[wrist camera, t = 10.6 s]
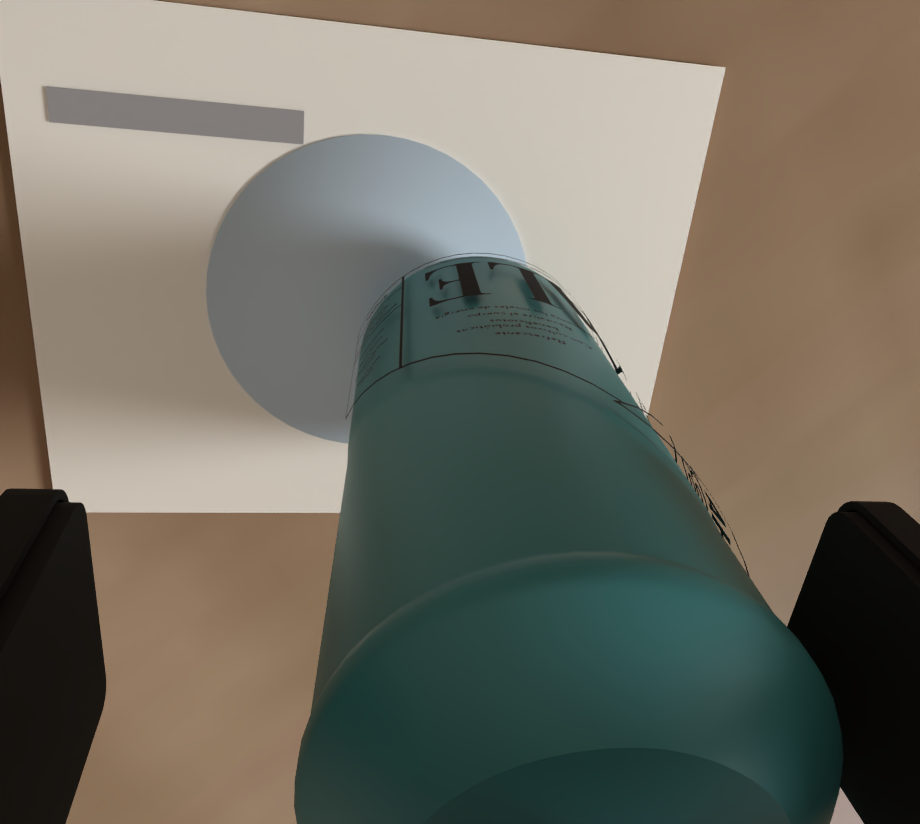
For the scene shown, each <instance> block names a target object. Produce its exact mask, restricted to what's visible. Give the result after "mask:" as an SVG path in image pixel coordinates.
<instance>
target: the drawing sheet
mask: <svg viewBox="0 0 920 824" xmlns="http://www.w3.org/2000/svg"><path fill="white" fill-rule="evenodd" d="M724 73H725V67H716V66H708V65H699V64H691V63H682V62H674V61H665V60H657V59H648V58H640V57H631V56H623V55H614V54H606V53H597V52H589V51H580V50H572V49H563V48H554V47H546V46H537V45H529V44H520V43H512V42H503V41H495V40H486V39H478V38H469V37H461V36H452V35H444V34H435V33H427V32H418V31H410V30H401V29H393V28H384V27H376V26H367V25H359V24H350V23H342V22H333V21H325V20H316V19H308V18H299V17H291V16H282V15H274V14H265V13H257V12H248V11H240V10H231V9H223V8H214V7H206V6H197V5H189V4H180V3H172V2H163V1H155V0H0V79H1V87H2V95H3V103H4V111H5V118H6V126H7V134H8V142H9V150H10V158H11V165H12V173H13V181H14V189H15V197H16V204H17V212H18V220H19V228H20V236H21V243H22V251H23V259H24V267H25V275H26V282H27V290H28V298H29V306H30V314H31V322H32V329H33V337H34V345H35V353H36V361H37V368H38V376H39V384H40V392H41V400H42V407H43V415H44V423H45V431H46V439H47V446H48V454H49V462H50V470H51V478H52V486H53V489H62V490H64V491H65V492H66V494H67V496H68V500H69V502H81V503H82V504H83V505H84V507H85V510H86V512H195V513H340V511H341V504H342V497H343V491H344V484H345V477H346V470H347V460H348V443H349V434H350V427H351V419H352V411H353V407H352V406H353V403H354V395H355V387H356V381H355V380H356V379H357V371H358V363H359V356H360V354H359V353H360V351H359V350H361V345H362V341H363V338H364V337H363V336H364V334H365V332H366V329H367V327H368V324H369V323H368V322H370V319H371V318H372V316H373V314H374V313H375V312H376V310H377V309H378V307H379V306H380V304H381V303H382V302H383V301H382V300H381V299H382V298H383V300H384V296H385V295H387V296H388V295H389V293H390V292H391V291H392V290H394V289H395V288H396V287H397V286H398V285H399V284H400V283H401V282H402V278H401V277H403V276H404V275H405V276H404V280H405V279H407V278H408V277H410V276H411V275H412V274H414V273H416V272H418V271H419V270H421V269H423V268H425V267H427V266H430V265H433V264H435V263H438V262H441V261H445V260H449V259H453V258H460V257H470V256H482V257H484V256H485V257H486V256H487V257H494V258H499V259H500V258H501V259H502V258H503V259H504V260H505V259H506V260H507V259H508V261H511V260H512V261H513V262H514V261H515V263H516V262H517V263H518V262H519V263H521V264H522V266H525V265H526V266H525V267H527V266H528V267H530V269H531V267H532V269H531V270H533V271H535V272H536V273H538V274H540V275H542V276H543V277H544V278H546V279H548V280H549V281H551V282H553V283H554V284H556V285H557V286H558V287H560V288H561V289H562V291H563V292H564V291H565V292H564V293H565V295H566V296H567V297H568V298H569V299H570V300H571V301H572V302H573V303H574V304H575V307H576V308H577V309H578V310H579V311H580V310H581V311H582V312H583V313H585V315H586V316H587V318H588V319H589V320H590V322H591V324H592V325H593V327H594V328H595V330H596V332H597V333H598V335H599V336H600V338H601V339H602V340H603V343H604V344H605V346H606V348H607V350H608V352H609V354H610V355H611V357H612V359H613V361H614V363H615V365H616V367H617V368H618V367H619V364H620V366H621V368H622V370H623V372H624V373H623V372H621V373H620V374H618V376H619V377H620V379H621V380H622V382H623V383H624V385H625V386H626V388H627V389H628V391H629V392H631V395H632V397H633V398H634V400H635V401H636V403H637V404H638V406H639V407H640V406H642V408H643V410H644V411H646V412H648V411H649V406H650V402H651V397H652V393H653V389H654V384H655V380H656V375H657V371H658V366H659V362H660V357H661V353H662V349H663V344H664V340H665V335H666V331H667V326H668V322H669V317H670V313H671V309H672V304H673V300H674V295H675V291H676V286H677V282H678V277H679V273H680V268H681V264H682V260H683V255H684V251H685V246H686V242H687V237H688V233H689V228H690V224H691V220H692V215H693V211H694V206H695V202H696V197H697V193H698V188H699V184H700V179H701V175H702V171H703V166H704V162H705V157H706V153H707V148H708V144H709V139H710V135H711V131H712V126H713V122H714V117H715V113H716V108H717V104H718V99H719V95H720V91H721V86H722V82H723V77H724ZM465 253H472V254H465ZM477 253H491V254H477ZM456 254H462V255H456ZM494 254H498V255H494ZM452 255H454V256H452ZM500 255H504V256H500ZM447 256H450V257H447ZM506 256H508V257H506ZM443 257H446V258H443ZM510 257H512V258H510ZM439 258H441V259H439ZM513 258H515V259H513ZM436 259H438V260H436ZM517 259H519V260H517ZM434 260H436V261H434ZM521 260H522V261H521ZM431 261H433V262H431ZM512 261H511V262H512ZM523 261H524V262H523ZM428 262H430V263H428ZM525 262H527V263H525ZM425 263H427V264H425ZM519 263H518V264H519ZM528 263H529V264H528ZM423 264H425V265H423ZM521 264H520V265H521ZM523 264H525V265H523ZM530 264H531V265H530ZM421 265H423V266H421ZM533 265H534V266H533ZM419 266H421V267H419ZM535 266H536V267H535ZM418 267H419V268H418ZM528 267H527V268H528ZM537 267H538V268H537ZM416 268H417V269H416ZM533 268H534V269H533ZM414 269H415V270H414ZM535 269H536V270H538V271H540V272H542V273H540V272H538V271H536V270H535ZM540 269H541V270H540ZM412 270H413V271H412ZM542 270H543V271H542ZM410 271H411V272H410ZM409 272H410V273H409ZM545 272H546V273H545ZM407 273H408V274H407ZM543 273H544V274H543ZM547 273H548V274H547ZM406 274H407V275H406ZM546 276H549V277H551V276H552V277H551V278H548V277H546ZM400 278H401V279H400ZM399 279H400V280H399ZM397 280H398V281H397ZM553 280H554V281H553ZM556 280H557V281H556ZM396 281H397V282H396ZM395 282H396V283H395ZM556 282H557V283H556ZM394 283H395V284H394ZM560 283H561V284H560ZM393 284H394V285H393ZM558 284H559V285H558ZM561 286H562V287H561ZM389 287H390V288H389ZM388 288H389V289H388ZM563 288H564V289H565V290H564V289H563ZM387 289H388V290H387ZM386 290H387V291H386ZM385 291H386V292H385ZM384 292H385V293H384ZM383 293H384V294H383ZM568 293H569V294H570V295H569V294H568ZM387 296H386V297H387ZM572 296H573V297H572ZM380 297H381V298H380ZM386 297H385V298H386ZM379 298H380V299H379ZM378 299H379V300H378ZM377 300H378V301H377ZM575 300H576V301H575ZM379 302H380V304H379ZM577 303H578V304H579V305H578V304H577ZM374 304H375V305H374ZM377 304H378V307H377V306H376V305H377ZM375 306H376V307H375ZM372 307H373V308H372ZM580 307H581V308H580ZM374 308H375V310H373V309H374ZM370 310H371V311H370ZM581 311H580V312H581ZM371 312H373V313H371ZM582 312H581V314H582V315H583V316H584V318H585V319H586V320H587V318H586V316H585V315H584V314H583V313H582ZM368 313H369V314H368ZM369 315H371V316H370V318H369ZM366 316H367V317H366ZM578 316H579V315H578ZM579 317H580V316H579ZM365 318H366V319H365ZM367 318H368V321H367ZM580 319H581V320H582V318H581V317H580ZM364 320H365V321H364ZM582 322H583V323H584V325H585V326H586V328H587V329H588V331H589V332H590V334H591V335H592V337H593V336H594V340H595V341H596V343H598V346H599V347H600V349H601V348H602V349H601V350H602V351H603V353H604V355H605V356H606V358H607V359H608V361H609V362H610V364H611V365H612V367H613V368H614V366H613V364H612V362H611V360H610V358H609V356H608V354H607V352H606V350H605V348H604V347H603V345H602V343H601V341H600V339H599V337H597V334H596V333H595V332H594V331H591V329H590V328H589V327H588V326H587V324H586V323H585V322H584V321H583V320H582ZM587 322H588V320H587ZM589 324H590V323H589ZM366 325H367V326H366ZM364 328H365V329H364ZM592 332H593V333H592ZM362 333H363V334H362ZM361 335H362V336H361ZM358 336H359V338H358ZM360 337H361V338H360ZM596 338H597V339H596ZM359 339H360V340H359ZM358 341H359V342H358ZM597 341H598V342H597ZM357 342H358V344H357ZM607 346H608V347H607ZM356 348H357V351H356ZM358 352H359V353H358ZM357 354H358V355H357ZM355 355H356V356H357V357H355ZM357 358H358V359H357ZM356 360H357V361H356ZM354 361H355V362H356V363H354ZM354 364H355V365H354ZM353 367H354V370H353ZM614 370H615V368H614ZM352 374H353V376H352ZM624 374H625V375H624ZM625 377H626V378H625ZM626 379H627V380H626ZM351 380H352V382H351ZM350 386H351V389H350ZM349 393H350V395H349ZM636 393H637V394H636ZM637 395H638V396H639V397H637ZM638 398H639V399H640V402H639V399H638ZM348 399H349V401H348ZM640 403H641V405H640ZM642 404H643V405H642ZM347 405H348V408H347ZM643 406H645V407H643ZM351 407H352V409H351ZM640 408H641V407H640ZM642 408H641V409H642ZM644 408H645V409H646V410H645V409H644ZM350 409H351V411H350ZM346 411H347V414H346ZM349 411H350V412H349ZM348 413H349V414H348ZM643 413H644V415H645V416H646V415H648V414H646V413H645V412H643ZM347 415H348V416H347ZM346 416H347V418H346ZM345 418H346V420H345ZM646 418H647V416H646Z"/></svg>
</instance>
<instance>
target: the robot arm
mask: <svg viewBox="0 0 920 824" xmlns="http://www.w3.org/2000/svg"><path fill="white" fill-rule="evenodd" d="M787 628H788V629H789V630H790V631H791V632H792V633H793V634H794V635H795V636H796V637H797V638H798V639H799V641H800V642H801V643H802V645H803V646H804V648H805V649H806V651H807V652H808V654H809V655H810V656H811V658H812V659H813V661H814V662H815V664H816V665H817V667H818V669H819V670H820V672H821V673H822V675H823V677H824V679H825V681H826V683H827V686H828V688H829V690H830V692H831V694H832V697H833V699H834V703H835V707H836V711H837V715H838V719H839V723H840V728H841V733H842V744H843V767H842V775H841V784H840V787H841V789H842V790H843V792H844V793H845V795H846V796H847V798H848V799H849V801H850V803H851V804H852V806H853V807H854V809H855V810H856V812H857V813H858V815H859V816H860V818H861V820H862V821H863V823H864V824H920V524H919V523H917V522H916V521H915V520H914V519H913V518H912V517H911V516H910V515H908V514H907V513H906V512H905V511H904V510H903V509H902V508H901V507H899V506H897V505H896V504H894V503H891V502H866V501H850V502H847V503H845V504H843V505H842V506H841V507H840V508H839V510H838V512H836V513H833V514H832V515H831V516H830V517H829V518H828V520H827V522H826V524H825V527H824V530H823V532H822V535H821V538H820V540H819V543H818V546H817V548H816V551H815V554H814V556H813V559H812V562H811V564H810V567H809V570H808V572H807V575H806V578H805V580H804V583H803V586H802V588H801V591H800V594H799V596H798V599H797V602H796V605H795V607H794V610H793V613H792V615H791V618H790V621H789V623H788V626H787ZM105 694H106V674H105V665H104V657H103V649H102V640H101V632H100V624H99V615H98V607H97V599H96V590H95V582H94V574H93V565H92V557H91V549H90V540H89V532H88V524H87V515H86V510H85V507H84V505H83V504H82V503H81V502H69V500H68V496H67V494H66V492H65V491H64V490H62V489H7V490H5V491H4V492H3V493H2V494H1V496H0V824H65V823H66V820H67V817H68V814H69V811H70V808H71V805H72V802H73V799H74V796H75V793H76V790H77V787H78V784H79V781H80V778H81V774H82V771H83V768H84V765H85V762H86V759H87V756H88V753H89V750H90V747H91V744H92V741H93V738H94V735H95V732H96V729H97V726H98V723H99V720H100V717H101V714H102V710H103V706H104V701H105Z"/></svg>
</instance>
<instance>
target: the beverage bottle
mask: <svg viewBox="0 0 920 824" xmlns="http://www.w3.org/2000/svg"><path fill="white" fill-rule="evenodd" d="M465 254H472V253H465ZM477 254H491V253H477ZM456 255H462V254H456ZM494 255H498V254H494ZM452 256H454V255H452ZM500 256H504V255H500ZM447 257H450V256H447ZM506 257H508V256H506ZM443 258H446V257H443ZM510 258H512V257H510ZM439 259H441V258H439ZM513 259H515V258H513ZM436 260H438V259H436ZM436 260H434V261H436ZM517 260H519V259H517ZM511 261H512V260H511ZM511 261H508V259H507V260H506V259H505V260H504V259H503V258H502V259H501V258H500V259H499V258H494V257H487V256H486V257H485V256H484V257H482V256H470V257H460V258H453V259H449V260H445V261H441V262H438V263H435V264H433V265H430V266H427V267H425V268H423V269H421V270H419V271H418V272H416V273H414V274H412V275H411V276H410V277H408V278H407V279H405V280H404V276H405V275H404V276H403V277H401V278H402V282H401V283H400V284H399V285H398V286H397V287H396V288H395V289H394V290H392V291H391V292H390V293H389V295H388V296H387V295H385V296H384V300H383V298H382V299H381V300H382V301H383V302H382V303H381V304H380V302H379V304H380V306H379V307H378V304H377V305H376V306H377V307H378V309H377V310H376V312H375V313H374V314H373V316H372V318H371V319H370V322H368V323H369V324H368V327H367V329H366V332H365V334H364V336H363V337H364V338H363V341H362V345H361V350H359V351H360V353H359V352H358V353H359V354H360V356H359V363H358V371H357V379H356V380H355V381H356V387H355V395H354V403H353V406H352V407H353V411H352V419H351V427H350V434H349V443H348V460H347V470H346V477H345V484H344V491H343V497H342V504H341V511H340V518H339V525H338V531H337V538H336V545H335V552H334V559H333V566H332V572H331V579H330V586H329V593H328V600H327V607H326V613H325V620H324V627H323V634H322V641H321V647H320V654H319V661H318V668H317V675H316V682H315V688H314V695H313V702H312V709H311V715H310V718H309V721H308V723H307V726H306V729H305V732H304V734H303V737H302V741H301V746H300V752H299V757H298V763H297V769H296V776H295V795H294V808H295V814H296V820H297V824H830V821H831V818H832V815H833V812H834V808H835V805H836V801H837V797H838V794H839V789H840V784H841V775H842V767H843V744H842V733H841V728H840V723H839V719H838V715H837V711H836V707H835V703H834V699H833V697H832V694H831V692H830V690H829V688H828V686H827V683H826V681H825V679H824V677H823V675H822V673H821V672H820V670H819V669H818V667H817V665H816V664H815V662H814V661H813V659H812V658H811V656H810V655H809V654H808V652H807V651H806V649H805V648H804V646H803V645H802V643H801V642H800V641H799V639H798V638H797V637H796V636H795V635H794V634H793V633H792V632H791V631H790V630H789V629H788V628H787V627H786V626H785V625H784V624H783V623H782V621H781V620H780V619H779V618H778V617H777V616H776V615H775V614H774V613H773V612H772V610H771V609H770V607H769V606H768V604H767V603H766V601H765V600H764V598H763V597H762V595H761V594H760V592H759V591H758V589H757V588H756V586H755V585H754V583H753V582H752V580H751V579H750V577H749V573H748V570H747V567H746V570H747V573H748V574H747V573H746V571H745V570H744V568H743V567H742V565H741V564H740V562H739V561H738V559H737V558H736V556H735V555H734V553H733V552H732V550H731V549H730V547H729V546H728V544H727V543H726V541H725V540H724V538H723V535H724V536H725V538H726V539H727V541H728V542H729V544H730V539H729V538H728V537H727V535H726V534H725V532H724V531H723V529H722V528H721V526H720V525H719V523H718V522H717V520H716V519H715V517H714V516H713V514H712V518H713V520H714V521H715V523H716V524H717V526H718V527H719V529H720V531H721V534H720V532H719V531H718V529H717V527H716V525H715V523H714V521H713V520H712V518H711V516H710V514H709V512H708V507H707V504H706V507H705V505H704V504H703V499H702V501H701V499H700V498H699V493H698V495H697V493H696V489H697V487H698V486H697V484H696V483H695V485H696V488H695V485H694V488H695V490H694V489H693V487H692V482H691V479H692V477H693V475H694V476H696V475H697V474H696V473H695V472H694V471H693V472H694V474H693V472H692V471H690V473H691V475H692V474H693V475H692V477H691V475H690V474H689V473H688V474H689V478H690V477H691V479H690V482H691V484H690V483H689V481H688V476H687V473H686V476H687V478H686V477H685V475H684V474H683V472H682V471H681V469H680V468H679V466H678V465H677V457H676V452H677V451H676V450H675V446H674V448H673V447H672V446H671V445H670V444H669V443H668V442H667V441H666V440H665V439H664V438H663V437H662V436H661V435H660V434H658V433H657V432H656V431H655V430H654V428H653V427H652V425H651V424H650V422H649V421H648V420H649V419H647V418H648V417H647V418H646V416H647V415H646V416H645V415H644V413H643V412H645V413H646V414H649V413H648V412H646V411H644V410H643V408H642V406H640V407H641V408H642V409H641V408H640V407H639V406H638V404H637V403H636V401H635V400H634V398H633V397H632V395H631V392H629V391H628V389H627V388H626V386H625V385H624V383H623V382H622V380H621V379H620V377H619V376H618V374H620V373H621V372H623V370H622V368H621V366H620V364H619V367H618V368H617V367H616V365H615V363H614V361H613V359H612V357H611V355H610V354H609V352H608V350H607V348H606V346H605V344H604V343H603V340H602V339H601V338H600V336H599V335H598V333H597V332H596V330H595V328H594V327H593V325H592V324H591V322H590V320H589V319H588V318H587V316H586V315H585V313H583V312H582V311H581V310H580V311H581V312H582V313H583V314H584V315H585V316H586V318H587V320H588V322H587V320H586V319H585V318H584V316H583V315H582V314H581V312H580V311H579V310H578V309H577V308H576V307H575V304H574V303H573V302H572V301H571V300H570V299H569V298H568V297H567V296H566V295H565V293H564V292H565V291H564V292H563V291H562V289H561V288H560V287H558V286H557V285H556V284H554V283H553V282H551V281H549V280H548V279H546V278H544V277H543V276H542V275H540V274H538V273H536V272H535V271H533V270H531V269H532V267H531V269H530V267H528V266H527V267H528V268H527V267H525V266H526V265H525V264H523V265H525V266H522V264H521V263H519V262H518V263H519V264H518V263H517V262H516V263H515V261H514V262H513V261H512V262H511ZM521 261H522V260H521ZM431 262H433V261H431ZM523 262H524V261H523ZM428 263H430V262H428ZM525 263H527V262H525ZM425 264H427V263H425ZM425 264H423V265H425ZM520 264H521V265H520ZM528 264H529V263H528ZM423 265H421V266H423ZM530 265H531V264H530ZM421 266H419V267H421ZM533 266H534V265H533ZM419 267H418V268H419ZM535 267H536V266H535ZM537 268H538V267H537ZM416 269H417V268H416ZM533 269H534V268H533ZM414 270H415V269H414ZM535 270H536V269H535ZM540 270H541V269H540ZM412 271H413V270H412ZM536 271H538V270H536ZM542 271H543V270H542ZM410 272H411V271H410ZM410 272H409V273H410ZM538 272H540V271H538ZM540 273H542V272H540ZM545 273H546V272H545ZM407 274H408V273H407ZM407 274H406V275H407ZM543 274H544V273H543ZM547 274H548V273H547ZM546 277H548V278H551V277H552V276H551V277H549V276H546ZM401 278H400V279H401ZM400 279H399V280H400ZM397 281H398V280H397ZM397 281H396V282H397ZM553 281H554V280H553ZM556 281H557V280H556ZM396 282H395V283H396ZM395 283H394V284H395ZM556 283H557V282H556ZM394 284H393V285H394ZM560 284H561V283H560ZM558 285H559V284H558ZM561 287H562V286H561ZM389 288H390V287H389ZM389 288H388V289H389ZM388 289H387V290H388ZM563 289H564V288H563ZM387 290H386V291H387ZM564 290H565V289H564ZM386 291H385V292H386ZM385 292H384V293H385ZM384 293H383V294H384ZM568 294H569V293H568ZM569 295H570V294H569ZM386 296H387V297H386ZM385 297H386V298H385ZM572 297H573V296H572ZM380 298H381V297H380ZM380 298H379V299H380ZM379 299H378V300H379ZM378 300H377V301H378ZM575 301H576V300H575ZM577 304H578V303H577ZM374 305H375V304H374ZM578 305H579V304H578ZM376 306H375V307H376ZM372 308H373V307H372ZM580 308H581V307H580ZM373 310H375V308H374V309H373ZM370 311H371V310H370ZM371 313H373V312H371ZM368 314H369V313H368ZM578 315H579V316H580V317H581V318H582V320H583V321H584V322H585V323H586V324H587V326H588V327H589V328H590V329H591V331H594V332H595V333H596V334H597V337H599V339H600V341H601V343H602V345H603V347H604V348H605V350H606V352H607V354H608V356H609V358H610V360H611V362H612V364H613V366H614V368H615V370H614V368H613V367H612V365H611V364H610V362H609V361H608V359H607V358H606V356H605V355H604V353H603V351H602V350H601V349H602V348H601V349H600V347H599V346H598V343H596V341H595V340H594V336H593V337H592V335H591V334H590V332H589V331H588V329H587V328H586V326H585V325H584V323H583V322H582V320H581V319H580V317H579V316H578ZM370 316H371V315H369V318H370ZM366 317H367V316H366ZM365 319H366V318H365ZM364 321H365V320H364ZM367 321H368V318H367ZM589 323H590V324H589ZM366 326H367V325H366ZM364 329H365V328H364ZM592 333H593V332H592ZM362 334H363V333H362ZM361 336H362V335H361ZM358 338H359V336H358ZM360 338H361V337H360ZM596 339H597V338H596ZM359 340H360V339H359ZM358 342H359V341H358ZM358 342H357V344H358ZM597 342H598V341H597ZM607 347H608V346H607ZM356 351H357V348H356ZM357 355H358V354H357ZM355 357H357V356H356V355H355ZM357 359H358V358H357ZM356 361H357V360H356ZM354 363H356V362H355V361H354ZM354 365H355V364H354ZM353 370H354V367H353ZM623 373H624V372H623ZM624 375H625V374H624ZM352 376H353V374H352ZM625 378H626V377H625ZM626 380H627V379H626ZM351 382H352V380H351ZM350 389H351V386H350ZM636 394H637V393H636ZM349 395H350V393H349ZM637 397H639V396H638V395H637ZM638 399H639V398H638ZM348 401H349V399H348ZM639 402H640V399H639ZM640 405H641V403H640ZM642 405H643V404H642ZM352 407H351V409H352ZM643 407H645V406H643ZM347 408H348V405H347ZM351 409H350V411H351ZM644 409H645V408H644ZM645 410H646V409H645ZM350 411H349V412H350ZM346 414H347V411H346ZM348 414H349V413H348ZM649 415H650V416H652V415H651V414H649ZM347 416H348V415H347ZM347 416H346V418H347ZM652 417H653V416H652ZM346 418H345V420H346ZM653 418H654V417H653ZM655 419H656V418H655ZM656 420H657V419H656ZM657 421H658V420H657ZM658 422H659V421H658ZM659 423H660V422H659ZM660 424H661V423H660ZM661 425H662V424H661ZM662 426H663V425H662ZM658 435H659V436H660V437H661V438H662V439H663V440H665V441H666V442H667V443H668V444H669V445H670V446H671V447H672V448H673V449H674V451H675V460H674V459H673V457H672V456H671V454H670V453H669V451H668V450H667V448H666V447H665V445H664V444H663V442H662V441H661V439H660V437H659V436H658ZM669 436H670V435H669ZM670 438H671V437H670ZM671 440H672V439H671ZM672 443H673V441H672ZM673 445H674V444H673ZM677 453H678V452H677ZM678 454H679V453H678ZM679 455H680V454H679ZM680 457H681V458H682V456H680ZM683 460H684V459H683V458H682V462H683ZM684 461H685V460H684ZM685 463H686V461H685ZM687 465H688V464H687ZM683 466H684V463H683ZM688 466H689V465H688ZM689 467H690V468H691V466H689ZM689 467H688V468H689ZM684 469H685V467H684ZM691 469H692V468H691ZM689 470H690V469H689ZM692 470H693V469H692ZM685 472H686V470H685ZM695 474H696V475H695ZM695 478H696V477H695ZM698 478H699V477H698ZM698 478H697V479H698ZM692 481H693V480H692ZM697 481H698V480H697ZM700 481H701V480H700ZM698 483H699V482H698ZM693 484H694V482H693ZM703 485H704V484H703ZM699 486H700V484H699ZM700 488H701V486H700ZM705 488H706V487H705ZM698 489H699V488H698ZM701 491H702V489H701ZM704 491H705V490H704ZM707 491H708V490H707ZM697 492H698V490H697ZM699 492H700V490H699ZM705 493H706V492H705ZM702 494H703V492H702ZM700 495H701V493H700ZM710 495H711V494H710ZM706 496H707V497H708V495H707V493H706ZM703 497H704V494H703ZM701 498H702V496H701ZM712 498H713V497H712ZM704 499H705V497H704ZM708 499H709V501H710V504H709V506H710V509H711V510H712V511H713V512H714V514H715V515H716V516H717V517H718V519H719V520H720V521H721V522H722V524H723V525H724V526H725V523H724V521H723V519H722V518H721V516H720V514H719V513H718V511H717V509H716V508H715V506H714V504H713V503H712V501H711V500H710V498H709V497H708ZM705 503H706V500H705ZM711 503H712V504H711ZM716 504H717V503H716ZM712 505H713V507H714V509H715V510H716V512H717V513H716V512H715V510H714V509H713V507H712ZM717 506H718V505H717ZM706 508H707V509H706ZM711 513H712V512H711ZM721 513H722V512H721ZM722 515H723V514H722ZM727 524H728V523H727ZM728 526H729V525H728ZM725 527H726V526H725ZM732 534H733V533H732ZM733 536H734V535H733ZM734 539H735V537H734ZM735 541H736V540H735ZM736 543H737V542H736ZM737 546H738V544H737ZM738 548H739V547H738ZM739 551H740V549H739ZM740 553H741V552H740ZM741 555H742V554H741ZM742 558H743V556H742ZM743 560H744V559H743ZM744 563H745V561H744ZM745 566H746V564H745Z"/></svg>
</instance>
